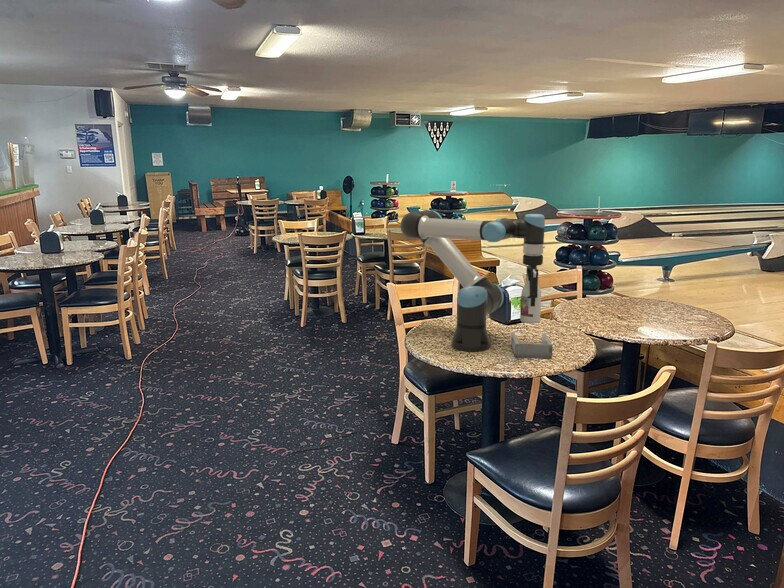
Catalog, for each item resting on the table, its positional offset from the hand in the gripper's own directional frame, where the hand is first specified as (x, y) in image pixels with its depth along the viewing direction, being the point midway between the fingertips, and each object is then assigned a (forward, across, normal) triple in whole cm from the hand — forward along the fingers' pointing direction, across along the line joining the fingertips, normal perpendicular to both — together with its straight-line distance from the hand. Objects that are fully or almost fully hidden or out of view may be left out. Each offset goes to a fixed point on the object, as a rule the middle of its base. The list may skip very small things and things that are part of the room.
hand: (530, 311), depth 208 cm
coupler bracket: (+14, -6, 0) cm, 16 cm away
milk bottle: (+4, 0, 0) cm, 4 cm away
